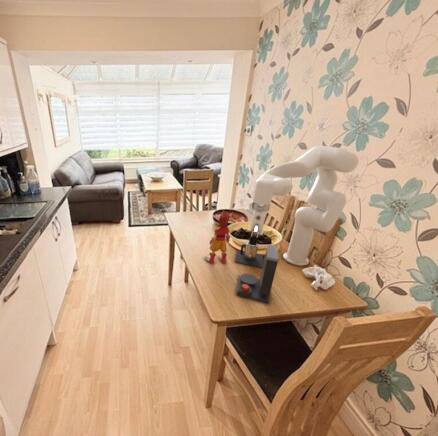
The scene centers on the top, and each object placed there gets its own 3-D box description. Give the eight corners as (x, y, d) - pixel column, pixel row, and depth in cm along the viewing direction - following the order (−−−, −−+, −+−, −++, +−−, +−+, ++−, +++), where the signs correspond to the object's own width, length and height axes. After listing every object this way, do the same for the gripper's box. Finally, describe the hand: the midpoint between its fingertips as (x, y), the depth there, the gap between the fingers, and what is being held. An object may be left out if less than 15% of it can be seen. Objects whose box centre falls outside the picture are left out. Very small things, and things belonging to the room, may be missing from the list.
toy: (221, 254, 141) (227, 207, 129) (230, 262, 133) (238, 213, 121) (203, 257, 138) (208, 209, 126) (211, 266, 130) (217, 216, 118)
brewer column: (240, 272, 120) (246, 239, 112) (269, 279, 115) (277, 245, 107) (238, 287, 110) (244, 252, 102) (269, 295, 105) (278, 259, 97)
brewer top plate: (237, 250, 145) (237, 249, 145) (262, 255, 140) (263, 254, 139) (235, 262, 133) (235, 261, 133) (262, 268, 128) (262, 267, 128)
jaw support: (343, 289, 108) (330, 275, 107) (324, 298, 111) (311, 285, 110) (330, 273, 119) (318, 260, 117) (313, 282, 122) (301, 270, 121)
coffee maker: (239, 276, 122) (240, 271, 120) (267, 283, 117) (268, 278, 115) (236, 296, 109) (237, 290, 108) (267, 304, 104) (269, 299, 103)
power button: (241, 286, 111) (242, 283, 110) (248, 288, 110) (249, 285, 109) (241, 290, 108) (241, 287, 108) (248, 292, 107) (248, 289, 106)
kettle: (240, 253, 141) (243, 236, 137) (255, 256, 138) (259, 239, 133) (238, 260, 134) (241, 243, 129) (255, 264, 130) (258, 247, 126)
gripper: (269, 214, 97) (261, 250, 104) (269, 201, 112) (262, 234, 118) (250, 211, 100) (243, 246, 107) (252, 199, 115) (246, 231, 121)
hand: (253, 240), depth 113 cm, fingers open, 9 cm apart
